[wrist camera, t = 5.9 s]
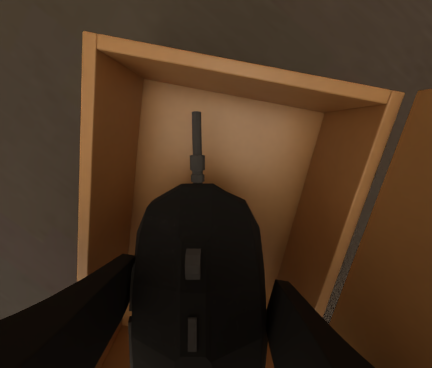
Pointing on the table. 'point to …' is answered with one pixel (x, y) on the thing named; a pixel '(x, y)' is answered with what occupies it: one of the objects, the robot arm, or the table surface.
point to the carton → (225, 156)
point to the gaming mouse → (198, 278)
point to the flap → (395, 258)
